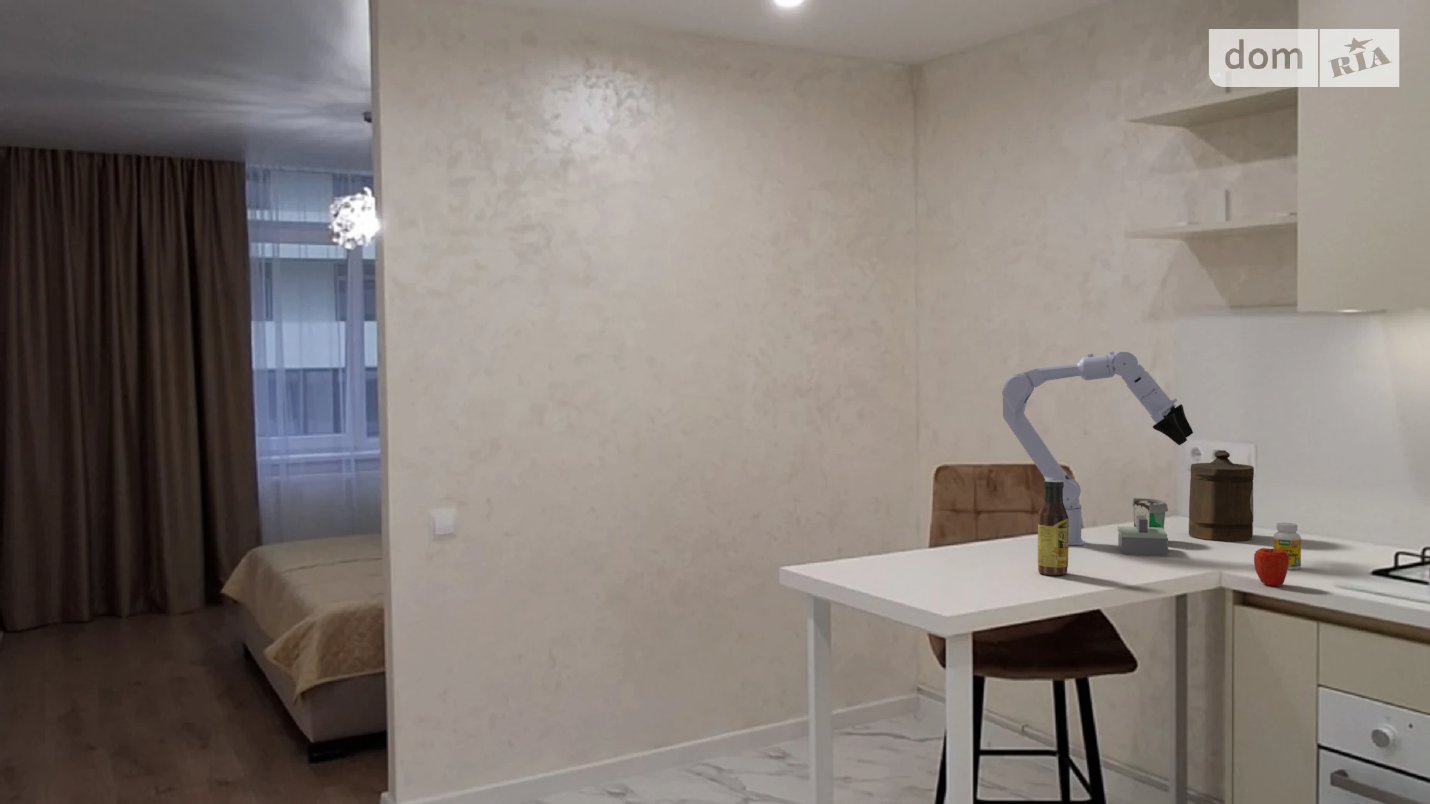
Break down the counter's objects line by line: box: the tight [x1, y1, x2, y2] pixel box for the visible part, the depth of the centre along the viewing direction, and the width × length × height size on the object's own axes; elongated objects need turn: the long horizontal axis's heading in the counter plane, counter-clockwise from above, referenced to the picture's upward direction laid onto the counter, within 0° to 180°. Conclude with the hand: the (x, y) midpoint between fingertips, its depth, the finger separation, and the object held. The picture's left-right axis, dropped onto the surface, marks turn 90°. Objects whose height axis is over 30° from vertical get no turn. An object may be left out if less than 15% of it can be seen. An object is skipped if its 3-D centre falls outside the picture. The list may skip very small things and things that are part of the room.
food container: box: [1132, 497, 1169, 531], centre depth 275 cm, size 12×6×10 cm, turn 179°
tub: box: [1117, 531, 1169, 557], centre depth 261 cm, size 10×10×4 cm
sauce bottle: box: [1037, 480, 1069, 576], centre depth 236 cm, size 7×6×20 cm
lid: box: [1117, 515, 1168, 539], centre depth 261 cm, size 10×10×5 cm
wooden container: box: [1188, 449, 1255, 542], centre depth 280 cm, size 15×15×22 cm
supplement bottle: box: [1272, 522, 1302, 571], centre depth 240 cm, size 5×5×10 cm
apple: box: [1253, 547, 1289, 587], centre depth 223 cm, size 6×6×8 cm
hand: (1186, 439), depth 263 cm, fingers open, 7 cm apart
